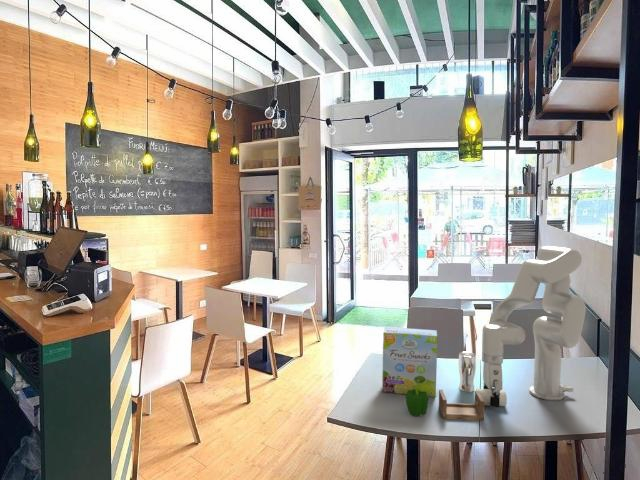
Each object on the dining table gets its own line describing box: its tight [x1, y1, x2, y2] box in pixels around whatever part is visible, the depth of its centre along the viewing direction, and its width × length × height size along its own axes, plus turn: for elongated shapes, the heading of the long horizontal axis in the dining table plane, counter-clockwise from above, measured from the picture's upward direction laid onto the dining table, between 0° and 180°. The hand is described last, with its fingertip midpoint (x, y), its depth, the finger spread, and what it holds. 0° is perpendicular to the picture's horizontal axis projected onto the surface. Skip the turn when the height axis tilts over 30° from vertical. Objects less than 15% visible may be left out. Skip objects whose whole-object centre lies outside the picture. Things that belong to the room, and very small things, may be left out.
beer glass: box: [457, 351, 477, 393], centre depth 184 cm, size 7×7×15 cm
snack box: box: [381, 326, 438, 398], centre depth 182 cm, size 22×9×26 cm, turn 77°
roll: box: [475, 388, 508, 407], centre depth 170 cm, size 10×6×6 cm, turn 84°
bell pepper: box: [405, 385, 430, 417], centre depth 164 cm, size 8×8×10 cm
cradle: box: [438, 389, 486, 421], centre depth 163 cm, size 14×9×7 cm, turn 84°
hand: (491, 400), depth 170 cm, fingers open, 9 cm apart
